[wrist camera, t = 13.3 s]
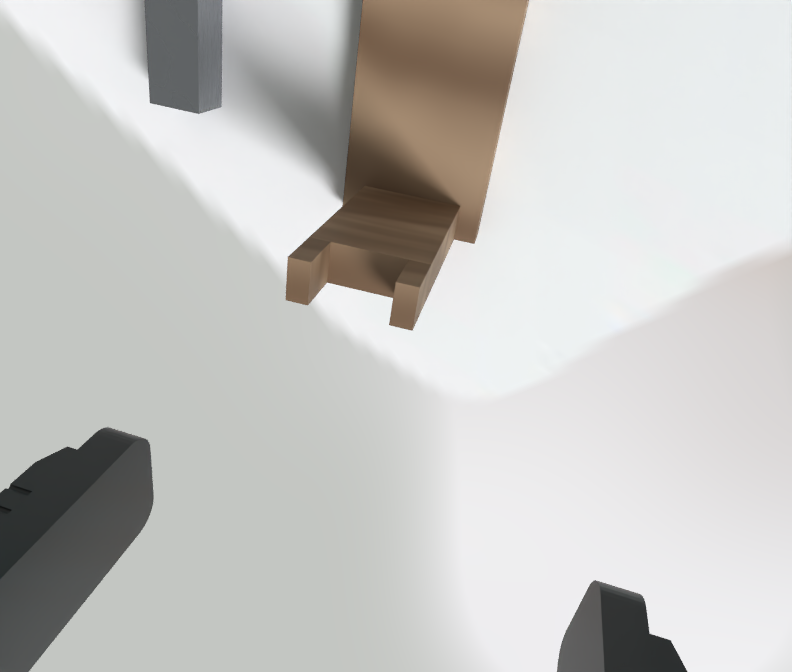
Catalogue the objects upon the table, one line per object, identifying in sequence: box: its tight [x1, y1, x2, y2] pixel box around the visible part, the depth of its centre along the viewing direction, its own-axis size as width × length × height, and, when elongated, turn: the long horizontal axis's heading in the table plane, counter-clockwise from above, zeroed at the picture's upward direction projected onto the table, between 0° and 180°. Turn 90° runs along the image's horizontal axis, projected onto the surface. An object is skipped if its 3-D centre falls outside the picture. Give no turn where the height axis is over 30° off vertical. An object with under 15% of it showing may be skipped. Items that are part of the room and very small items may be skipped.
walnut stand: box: [286, 0, 529, 330], centre depth 26 cm, size 19×8×13 cm, turn 172°
